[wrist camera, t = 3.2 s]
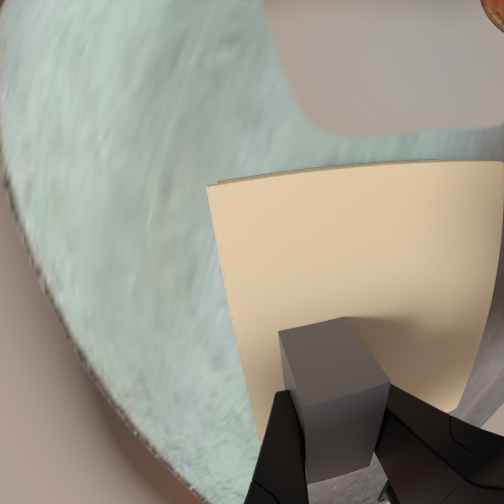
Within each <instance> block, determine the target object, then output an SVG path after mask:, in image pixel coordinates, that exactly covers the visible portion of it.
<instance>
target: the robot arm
mask: <svg viewBox="0 0 504 504" xmlns="http://www.w3.org/2000/svg"><path fill="white" fill-rule="evenodd" d="M374 452H375V454H376V456H377V458H378V460H379V462H380V464H381V466H382V468H383V470H384V472H385V474H386V476H387V478H388V481H387V482H386V484H385V486H384V488H383V490H382V492H381V494H380V496H379V498H378V501H379V502H382V501H385V500H387V499H388V500H389V502H390V504H504V436H501V435H498V434H495V433H492V432H488V431H486V430H483V429H480V428H478V427H475V426H473V425H470V424H468V423H466V422H464V421H462V420H460V419H458V418H456V417H454V416H450V415H449V414H448V413H446V412H444V411H442V410H440V409H438V408H436V407H434V406H432V405H430V404H428V403H426V402H425V401H423V400H421V399H419V398H417V397H415V396H413V395H411V394H410V393H408V392H406V391H404V390H402V389H400V388H398V387H397V386H395V385H393V384H391V383H390V388H389V393H388V398H387V403H386V407H385V411H384V416H383V420H382V424H381V427H380V431H379V435H378V439H377V442H376V446H375V449H374ZM244 504H309V499H308V490H307V480H306V471H305V462H304V453H303V444H302V435H301V427H300V421H299V418H298V415H297V412H296V409H295V406H294V403H293V401H292V398H291V395H290V392H289V390H282V391H277V392H276V393H275V395H274V399H273V403H272V407H271V411H270V415H269V419H268V423H267V427H266V431H265V434H264V438H263V442H262V445H261V449H260V453H259V456H258V460H257V463H256V467H255V470H254V474H253V477H252V481H251V483H250V487H249V490H248V493H247V496H246V499H245V501H244Z"/></svg>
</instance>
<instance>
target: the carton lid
mask: <svg viewBox="0 0 504 504" xmlns="http://www.w3.org/2000/svg"><path fill="white" fill-rule="evenodd" d="M207 193H208V199H209V205H210V210H211V216H212V221H213V227H214V232H215V238H216V243H217V248H218V254H219V259H220V264H221V269H222V274H223V279H224V284H225V289H226V294H227V299H228V304H229V309H230V314H231V319H232V323H233V328H234V333H235V337H236V342H237V347H238V351H239V356H240V360H241V365H242V369H243V374H244V378H245V382H246V387H247V391H248V395H249V400H250V404H251V408H252V412H253V416H254V420H255V425H256V429H257V433H258V437H259V441H260V445H262V442H263V438H264V434H265V431H266V427H267V423H268V419H269V415H270V411H271V407H272V403H273V399H274V395H275V393H276V392H277V391H282V390H289V392H290V395H291V398H292V401H293V403H294V406H295V409H296V412H297V415H298V418H299V421H300V427H301V435H302V444H303V453H304V462H305V471H306V480H307V484H311V483H315V482H319V481H323V480H326V479H330V478H334V477H337V476H340V475H344V474H347V473H350V472H353V471H356V470H359V469H362V468H365V467H368V466H369V465H370V462H371V459H372V456H373V452H374V449H375V446H376V442H377V439H378V435H379V431H380V427H381V424H382V420H383V416H384V411H385V407H386V403H387V398H388V393H389V388H390V383H391V384H393V385H395V386H397V387H398V388H400V389H402V390H404V391H406V392H408V393H410V394H411V395H413V396H415V397H417V398H419V399H421V400H423V401H425V402H426V403H428V404H430V405H432V406H434V407H436V408H438V409H440V410H442V411H444V412H446V413H448V412H450V411H452V410H454V409H456V408H457V406H458V403H459V401H460V399H461V396H462V394H463V392H464V389H465V387H466V384H467V381H468V379H469V376H470V373H471V371H472V368H473V365H474V362H475V359H476V356H477V353H478V350H479V347H480V343H481V340H482V336H483V333H484V329H485V326H486V322H487V318H488V314H489V309H490V305H491V301H492V296H493V291H494V286H495V280H496V274H497V268H498V261H499V254H500V245H501V235H502V223H503V204H504V167H503V162H499V161H425V162H403V163H386V164H372V165H360V166H348V167H338V168H328V169H318V170H310V171H301V172H293V173H285V174H278V175H271V176H264V177H257V178H250V179H244V180H237V181H231V182H225V183H219V184H214V185H208V186H207Z"/></svg>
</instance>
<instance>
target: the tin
mask: <svg viewBox="0 0 504 504" xmlns="http://www.w3.org/2000/svg"><path fill="white" fill-rule="evenodd" d="M480 1H481V4H482V7H483V9H484V11H485V13H486V15H487V16H488V18H489V19H490V20H491V21H492V23H493V24H494V25H495V26H496V27H497V28H498V29H500V30H501V31H502V32H504V0H480Z"/></svg>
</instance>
